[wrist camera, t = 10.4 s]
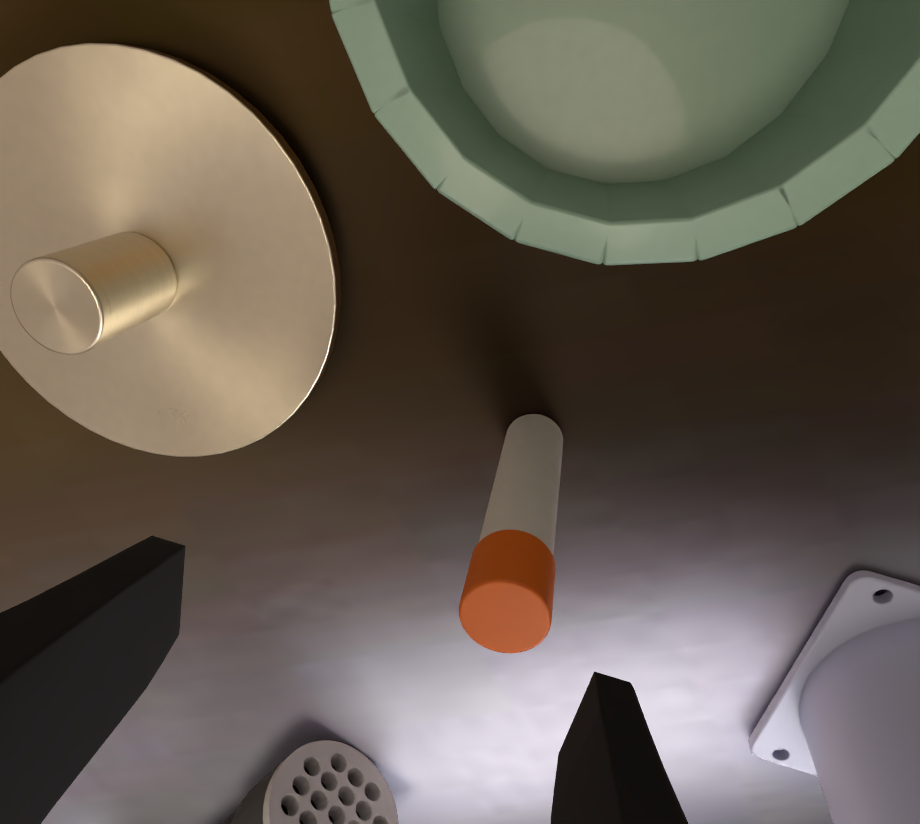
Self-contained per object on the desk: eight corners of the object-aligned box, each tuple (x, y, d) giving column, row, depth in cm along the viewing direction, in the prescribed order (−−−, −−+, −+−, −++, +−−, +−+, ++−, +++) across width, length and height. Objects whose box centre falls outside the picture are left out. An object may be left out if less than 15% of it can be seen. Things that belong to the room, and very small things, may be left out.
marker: (573, 420, 21) (562, 596, 13) (555, 472, 21) (536, 665, 14) (512, 403, 21) (469, 569, 14) (497, 455, 22) (448, 638, 14)
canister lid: (381, 107, 18) (320, 112, 14) (318, 483, 23) (260, 567, 19) (-39, -4, 19) (-213, -30, 15) (-10, 386, 24) (-133, 446, 20)
